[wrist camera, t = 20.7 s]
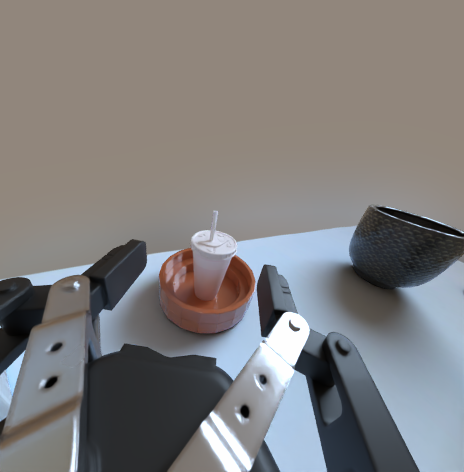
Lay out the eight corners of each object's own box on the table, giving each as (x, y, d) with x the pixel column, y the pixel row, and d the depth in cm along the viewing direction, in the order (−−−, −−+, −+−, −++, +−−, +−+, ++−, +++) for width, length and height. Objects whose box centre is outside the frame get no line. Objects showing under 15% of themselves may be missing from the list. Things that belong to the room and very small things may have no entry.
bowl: (240, 268, 36) (245, 250, 34) (257, 336, 23) (266, 314, 21) (169, 262, 33) (170, 243, 31) (146, 336, 21) (145, 312, 19)
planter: (362, 255, 54) (395, 206, 46) (431, 299, 40) (494, 240, 32) (322, 256, 47) (352, 201, 40) (387, 310, 33) (453, 240, 26)
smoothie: (181, 282, 28) (187, 201, 22) (216, 274, 32) (230, 202, 25) (193, 313, 24) (205, 223, 17) (232, 301, 27) (255, 221, 21)
